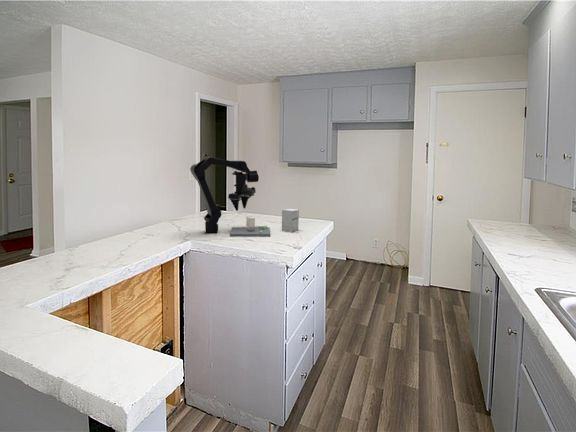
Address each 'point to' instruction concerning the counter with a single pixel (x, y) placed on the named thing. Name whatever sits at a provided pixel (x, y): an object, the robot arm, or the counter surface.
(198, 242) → the counter surface
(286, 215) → the supplement box
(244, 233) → the dial plate
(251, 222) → the tuning peg
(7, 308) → the counter surface
